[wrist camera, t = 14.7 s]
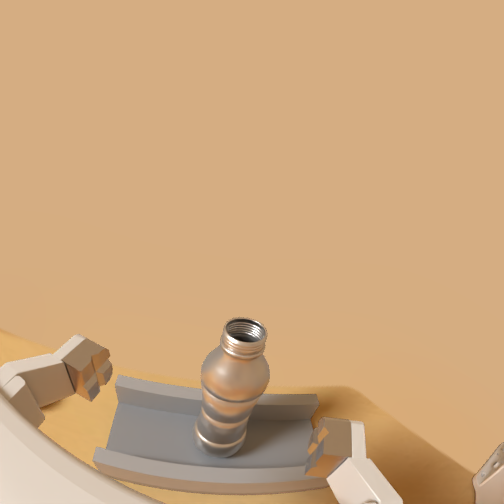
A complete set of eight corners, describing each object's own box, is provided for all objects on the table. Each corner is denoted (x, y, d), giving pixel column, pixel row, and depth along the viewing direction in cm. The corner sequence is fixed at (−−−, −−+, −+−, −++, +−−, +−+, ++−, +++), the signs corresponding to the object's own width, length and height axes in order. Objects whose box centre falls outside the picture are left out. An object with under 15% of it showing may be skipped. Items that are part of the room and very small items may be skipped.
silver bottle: (183, 430, 30) (193, 313, 23) (227, 418, 34) (258, 303, 27) (204, 469, 26) (227, 365, 18) (251, 452, 29) (300, 344, 22)
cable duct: (305, 413, 38) (316, 394, 36) (326, 487, 25) (342, 473, 24) (122, 395, 34) (118, 374, 32) (102, 475, 21) (92, 460, 19)
